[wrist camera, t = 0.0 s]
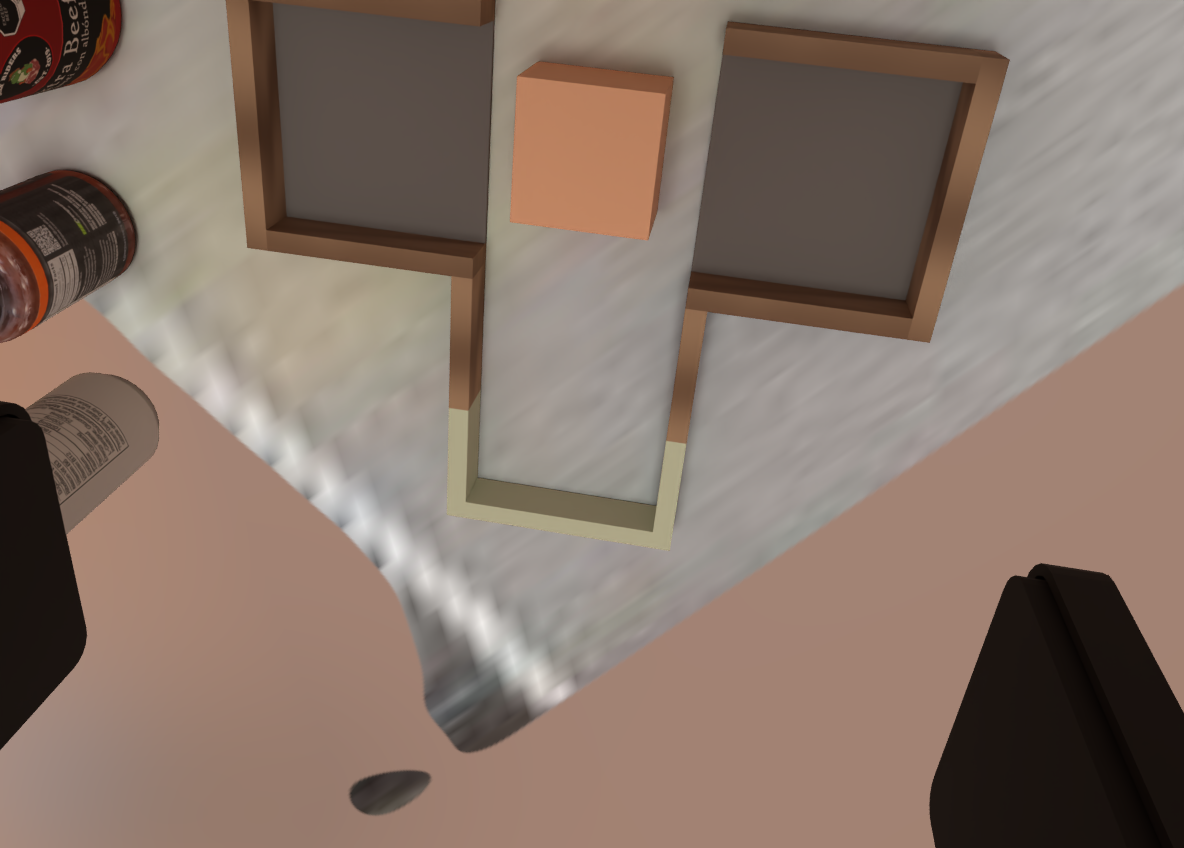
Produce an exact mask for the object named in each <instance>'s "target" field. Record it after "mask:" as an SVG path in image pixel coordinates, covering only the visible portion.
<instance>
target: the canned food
mask: <svg viewBox="0 0 1184 848" xmlns="http://www.w3.org/2000/svg"><path fill="white" fill-rule="evenodd" d="M120 30H121V8H120V1H119V0H0V103H4V102H8V101H12V100H16V99H19V98H23V97H27V96H31V95H34V94H38V93H42V92H46V91H49V90H53V89H57V88H61V87H64V86H68V85H72V84H75V83H78V82H81V81H84V80H86V79H88V78H89V77H91V76H92V75H94V74H95V73H96V72H98V71H99V70H100V68H101V67H102V66H103V65H104V64H105V63H106V62H107V60H108V59H109V58H110V57H111V56H112V54H113V52H114V49H115V47H116V45H117V43H118V39H119V34H120Z"/></svg>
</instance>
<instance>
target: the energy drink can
mask: <svg viewBox="0 0 1184 848" xmlns="http://www.w3.org/2000/svg"><path fill="white" fill-rule="evenodd" d="M25 410H26V411H27V413H28V414H29V415H30V418H31V420H32V421H33V422H35V423H37V424H38V425H39V426H40V427H41V429H42V430H43V433H44V436H45V439H46V444H47V449H48V453H49V458H50V463H51V467H52V472H53V476H54V481H55V486H56V490H57V495H58V500H59V504H60V509H61V513H62V518H63V523H64V527H65V532H66V534H68V533H69V532H70V531H71V530H72V529H73V528H74V527H75V526H76V525H77V524H78V523H79V522H81V521H82V520H83V519H84V518H85V517H86V516H87V515H88V514H89V513H90V512H92V511H93V510H94V509H95V508H96V507H97V506H98V505H99V504H100V503H102V502H103V501H104V500H105V499H106V498H107V497H108V496H109V495H110V494H111V493H112V492H114V491H115V490H116V489H117V488H118V487H119V486H120V485H121V484H122V483H124V482H125V481H126V480H127V479H128V478H129V477H130V476H131V475H132V474H133V473H134V472H136V471H137V470H138V469H139V468H140V467H141V466H142V465H143V464H144V463H145V462H147V461H148V460H149V459H150V458H151V457H152V455H153V454H154V452H155V450H156V449H157V446H158V441H159V420H158V416H157V412H156V410H155V408H154V405H153V404H152V402H151V401H150V399H149V398H148V397H147V395H146V394H145V393H144V392H143V391H142V390H141V389H139V388H138V387H137V386H136V385H134V384H133V383H131V382H129V381H128V380H126V379H123V378H121V377H118V376H114V375H108V374H101V373H83V374H79V375H76V376H73V377H72V378H70V379H69V380H67V381H66V382H64V383H63V384H61V385H60V386H58V387H57V388H56V389H54V390H53V391H51V392H50V393H48V394H47V395H45V396H44V397H42V398H41V399H39V400H38V401H37V402H35V403H34V404H32V405H31V406H29V407H28V408H26V409H25Z"/></svg>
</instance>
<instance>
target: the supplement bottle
mask: <svg viewBox="0 0 1184 848" xmlns="http://www.w3.org/2000/svg"><path fill="white" fill-rule="evenodd" d="M134 250H135V234H134V228H133V225H132V222H131V220H130V217H129V215H128V213H127V211H126V209H125V208H124V206H123V204H122V203H121V202H120V201H119V199H118V198H117V197H116V196H115V195H114V194H113V193H112V192H111V191H110V190H109V189H108V188H107V187H106V186H105V185H103V184H102V183H100V182H99V181H98V180H96V179H94V178H92V177H90V176H87V175H85V174H82V173H78V172H74V171H67V170H57V171H52V172H48V173H45V174H42V175H38V176H35V177H33V178H31V179H28V180H26V181H23V182H21V183H18V184H16V185H13V186H11V187H8V188H6V189H3V190H0V343H2V342H6V341H10V340H12V339H14V338H17V337H19V336H21V335H22V334H24V333H26V332H27V331H29V330H31V329H33V328H35V327H36V326H38V325H39V324H41V323H43V322H44V321H46V320H48V319H49V318H51V317H53V316H54V315H56V314H58V313H59V312H61V311H63V310H64V309H66V308H68V307H69V306H71V305H73V304H74V303H76V302H78V301H79V300H81V299H83V298H84V297H86V296H88V295H89V294H91V293H93V292H94V291H96V290H98V289H99V288H101V287H103V286H104V285H106V284H108V283H109V282H111V281H112V280H113V279H115V278H116V277H118V276H119V275H121V274H122V273H123V272H124V271H125V270H126V269H127V268H128V266H129V264H130V262H131V260H132V258H133V254H134Z"/></svg>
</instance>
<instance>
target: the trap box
mask: <svg viewBox="0 0 1184 848" xmlns="http://www.w3.org/2000/svg"><path fill="white" fill-rule="evenodd" d="M226 8H227V19H228V31H229V42H230V54H231V65H232V77H233V88H234V100H235V111H236V122H237V134H238V145H239V157H240V168H241V180H242V191H243V202H244V214H245V225H246V237H247V248H253V249H260V250H267V251H274V252H281V253H289V254H296V255H303V256H310V257H317V258H325V259H332V260H339V261H346V262H353V263H361V264H368V265H375V266H382V267H389V268H396V269H404V270H411V271H418V272H425V273H432V274H440V275H447V276H452V279H451V330H450V382H449V434H448V486H447V515H451V516H457V517H463V518H470V519H476V520H482V521H488V522H494V523H501V524H507V525H513V526H519V527H525V528H532V529H538V530H544V531H550V532H556V533H562V534H569V535H575V536H581V537H587V538H593V539H600V540H606V541H612V542H618V543H624V544H631V545H637V546H643V547H649V548H655V549H661V550H668V551H670V545H671V538H672V532H673V526H674V519H675V513H676V507H677V500H678V494H679V488H680V481H681V475H682V468H683V462H684V456H685V449H686V443H687V437H688V430H689V424H690V418H691V411H692V405H693V399H694V392H695V386H696V380H697V373H698V367H699V361H700V354H701V348H702V342H703V335H704V329H705V323H706V316H707V312H713V313H720V314H727V315H734V316H741V317H749V318H756V319H763V320H770V321H777V322H785V323H792V324H799V325H806V326H813V327H821V328H828V329H835V330H842V331H849V332H856V333H864V334H871V335H878V336H885V337H892V338H900V339H907V340H914V341H921V342H928V343H930V340H931V337H932V333H933V330H934V326H935V323H936V319H937V316H938V312H939V308H940V305H941V301H942V298H943V294H944V291H945V287H946V284H947V280H948V277H949V273H950V270H951V266H952V262H953V259H954V255H955V252H956V248H957V245H958V241H959V238H960V234H961V231H962V227H963V224H964V220H965V216H966V213H967V209H968V206H969V202H970V199H971V195H972V192H973V188H974V185H975V181H976V178H977V174H978V170H979V167H980V163H981V160H982V156H983V153H984V149H985V146H986V142H987V139H988V135H989V132H990V128H991V124H992V121H993V117H994V114H995V110H996V107H997V103H998V100H999V96H1000V93H1001V89H1002V86H1003V82H1004V78H1005V75H1006V71H1007V68H1008V64H1009V61H1010V60H1009V59H1007V58H1006V57H1004V56H1002V55H1001V54H999V53H997V52H996V51H987V50H978V49H969V48H960V47H951V46H942V45H933V44H924V43H916V42H907V41H898V40H889V39H880V38H871V37H862V36H853V35H844V34H835V33H827V32H818V31H809V30H800V29H791V28H782V27H773V26H764V25H755V24H746V23H738V22H729V21H728V23H727V27H726V34H725V41H724V48H723V54H722V55H723V58H722V65H721V72H720V79H719V86H718V93H717V99H716V106H715V113H714V120H713V127H712V134H711V141H710V147H709V154H708V161H707V168H706V175H705V182H704V189H703V195H702V202H701V209H700V216H699V223H698V230H697V237H696V243H695V250H694V257H693V264H692V271H691V277H690V282H689V288H688V295H687V301H686V308H685V315H684V322H683V329H682V336H681V343H680V350H679V356H678V363H677V370H676V377H675V384H674V391H673V398H672V404H671V411H670V418H669V425H668V432H667V439H666V446H665V452H664V459H663V466H662V473H661V480H660V487H659V494H658V500H657V506H653V505H647V504H641V503H634V502H628V501H622V500H615V499H609V498H602V497H596V496H590V495H583V494H577V493H571V492H564V491H558V490H552V489H545V488H539V487H533V486H526V485H520V484H514V483H507V482H501V481H495V480H488V479H482V478H478V451H479V424H480V397H481V370H482V343H483V316H484V289H485V262H486V235H487V208H488V181H489V154H490V127H491V100H492V73H493V46H494V19H495V0H226Z"/></svg>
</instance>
